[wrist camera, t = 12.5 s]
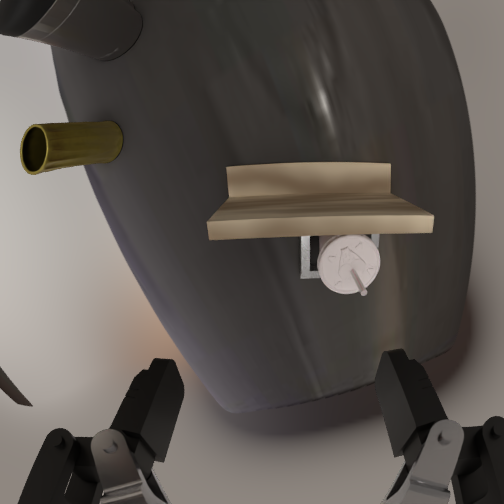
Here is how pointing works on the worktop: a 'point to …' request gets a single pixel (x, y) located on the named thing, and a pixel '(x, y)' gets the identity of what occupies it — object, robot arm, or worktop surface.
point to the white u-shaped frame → (304, 256)
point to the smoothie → (347, 262)
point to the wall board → (313, 202)
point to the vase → (69, 145)
